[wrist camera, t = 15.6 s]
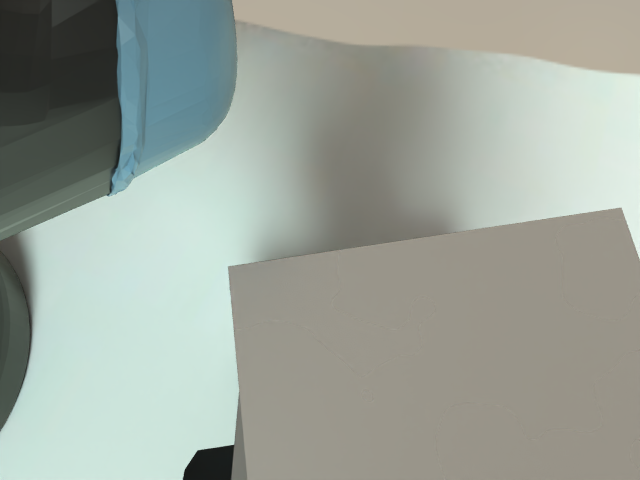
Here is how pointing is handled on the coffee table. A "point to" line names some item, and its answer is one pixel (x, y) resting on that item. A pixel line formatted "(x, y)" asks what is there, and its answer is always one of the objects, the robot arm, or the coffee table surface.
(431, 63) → the coffee table surface
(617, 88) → the coffee table surface
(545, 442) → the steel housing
